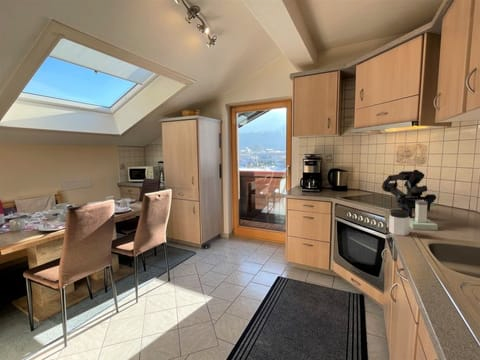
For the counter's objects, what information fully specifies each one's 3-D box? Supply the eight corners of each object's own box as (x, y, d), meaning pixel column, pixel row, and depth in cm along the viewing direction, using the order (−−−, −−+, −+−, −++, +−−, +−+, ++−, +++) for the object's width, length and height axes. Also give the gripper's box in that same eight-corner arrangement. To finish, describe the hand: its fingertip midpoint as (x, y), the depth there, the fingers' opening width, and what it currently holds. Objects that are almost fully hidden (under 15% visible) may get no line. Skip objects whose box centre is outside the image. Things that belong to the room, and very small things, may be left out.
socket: (404, 222, 143) (405, 218, 143) (427, 223, 140) (427, 218, 140) (412, 229, 133) (413, 224, 132) (437, 230, 130) (437, 224, 129)
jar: (401, 236, 123) (402, 214, 122) (386, 232, 131) (386, 210, 129) (412, 233, 127) (412, 211, 126) (396, 229, 134) (396, 208, 133)
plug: (414, 224, 139) (415, 200, 137) (423, 224, 138) (424, 200, 136) (417, 226, 135) (418, 202, 133) (426, 226, 134) (427, 202, 132)
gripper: (398, 180, 142) (404, 203, 133) (435, 180, 137) (445, 204, 128) (393, 191, 151) (399, 213, 142) (428, 191, 146) (436, 214, 137)
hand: (419, 211), depth 137 cm, fingers open, 9 cm apart
